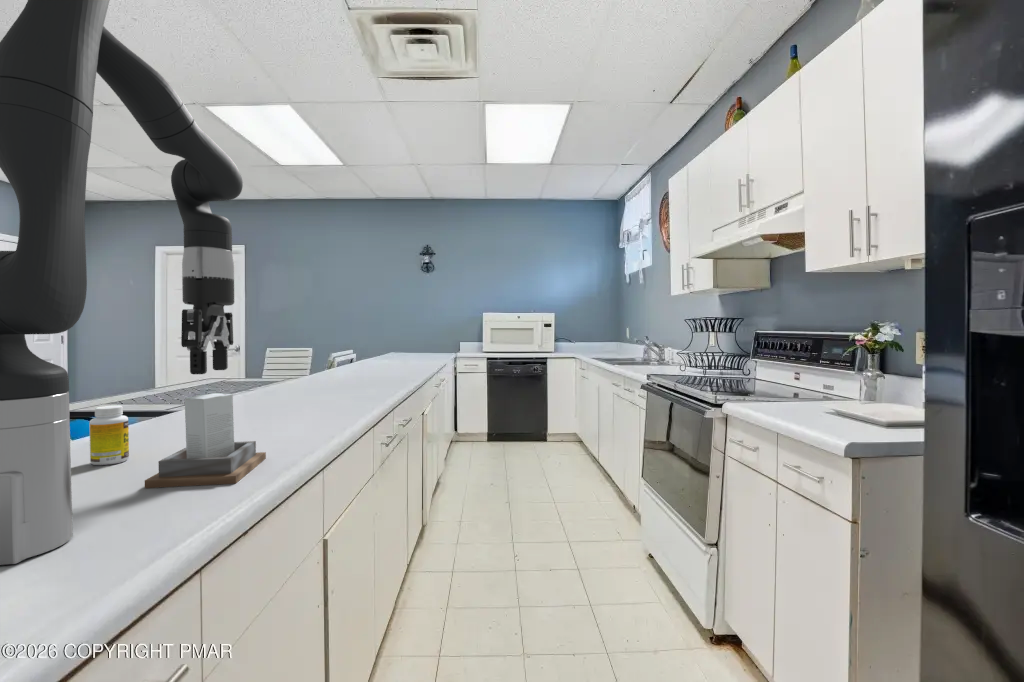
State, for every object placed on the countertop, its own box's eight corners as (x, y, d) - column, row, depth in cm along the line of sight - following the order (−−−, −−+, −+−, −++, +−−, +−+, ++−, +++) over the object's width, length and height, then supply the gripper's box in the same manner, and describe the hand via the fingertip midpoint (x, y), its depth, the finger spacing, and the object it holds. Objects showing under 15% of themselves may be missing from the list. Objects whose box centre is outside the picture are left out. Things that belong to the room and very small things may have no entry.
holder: (235, 483, 78) (235, 460, 78) (144, 488, 76) (144, 464, 76) (265, 458, 93) (265, 439, 93) (190, 461, 91) (189, 441, 91)
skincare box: (216, 459, 88) (215, 392, 87) (235, 461, 86) (234, 393, 86) (184, 469, 82) (183, 397, 82) (204, 471, 81) (203, 398, 80)
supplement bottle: (130, 462, 90) (128, 407, 90) (90, 468, 87) (88, 410, 86) (128, 456, 94) (127, 403, 94) (90, 461, 91) (89, 406, 91)
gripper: (203, 280, 90) (204, 369, 90) (162, 271, 76) (163, 376, 76) (247, 281, 91) (248, 368, 91) (215, 272, 77) (216, 375, 77)
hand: (209, 372), depth 84 cm, fingers open, 8 cm apart
